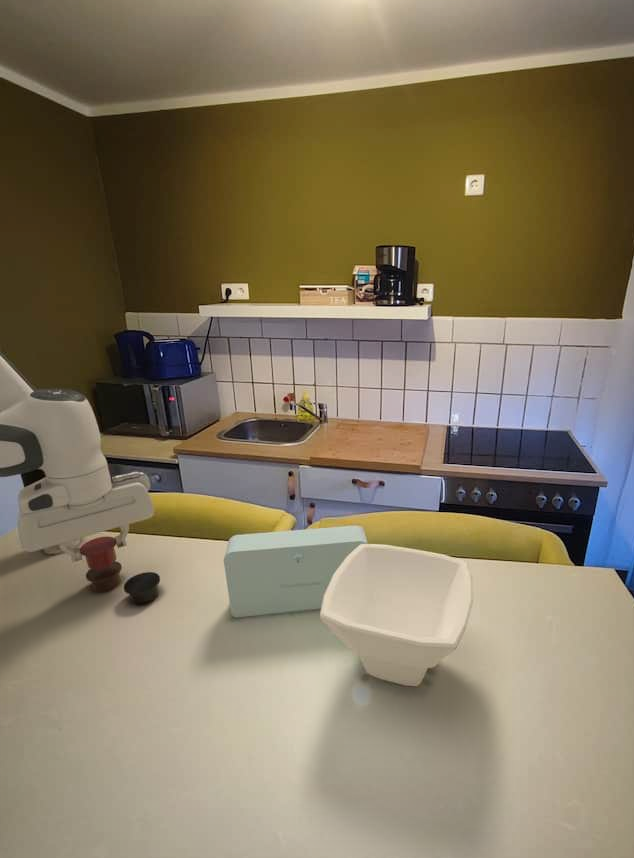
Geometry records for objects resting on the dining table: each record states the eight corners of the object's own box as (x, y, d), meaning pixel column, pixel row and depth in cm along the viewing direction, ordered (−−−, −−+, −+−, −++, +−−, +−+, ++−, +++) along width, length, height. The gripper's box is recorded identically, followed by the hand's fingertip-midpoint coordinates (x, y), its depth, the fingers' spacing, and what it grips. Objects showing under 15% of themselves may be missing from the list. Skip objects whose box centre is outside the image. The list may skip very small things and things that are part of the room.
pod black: (131, 614, 73) (126, 597, 72) (125, 596, 78) (121, 580, 76) (166, 600, 76) (163, 584, 75) (159, 584, 81) (155, 568, 80)
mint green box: (231, 623, 71) (221, 555, 66) (236, 600, 76) (227, 535, 72) (369, 609, 74) (369, 543, 69) (364, 587, 79) (364, 524, 75)
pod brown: (92, 601, 77) (87, 584, 75) (88, 584, 81) (84, 568, 80) (127, 588, 80) (123, 572, 79) (122, 573, 84) (118, 557, 83)
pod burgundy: (86, 575, 75) (81, 558, 74) (82, 560, 79) (77, 543, 78) (122, 563, 78) (118, 546, 77) (117, 549, 83) (113, 533, 81)
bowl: (355, 607, 74) (354, 538, 69) (469, 632, 69) (477, 558, 64) (311, 700, 58) (306, 617, 53) (458, 742, 52) (467, 655, 47)
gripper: (143, 463, 81) (156, 527, 86) (7, 493, 70) (31, 564, 75) (150, 474, 76) (164, 540, 81) (6, 508, 65) (32, 583, 70)
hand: (99, 552), depth 78 cm, fingers closed on pod burgundy, 6 cm apart
